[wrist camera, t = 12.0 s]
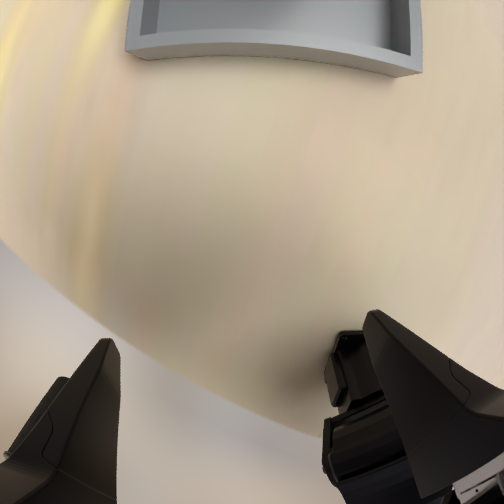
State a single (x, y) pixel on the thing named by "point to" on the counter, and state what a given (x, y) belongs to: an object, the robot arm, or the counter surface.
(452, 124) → the counter surface
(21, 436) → the drinking cup
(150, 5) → the tray
